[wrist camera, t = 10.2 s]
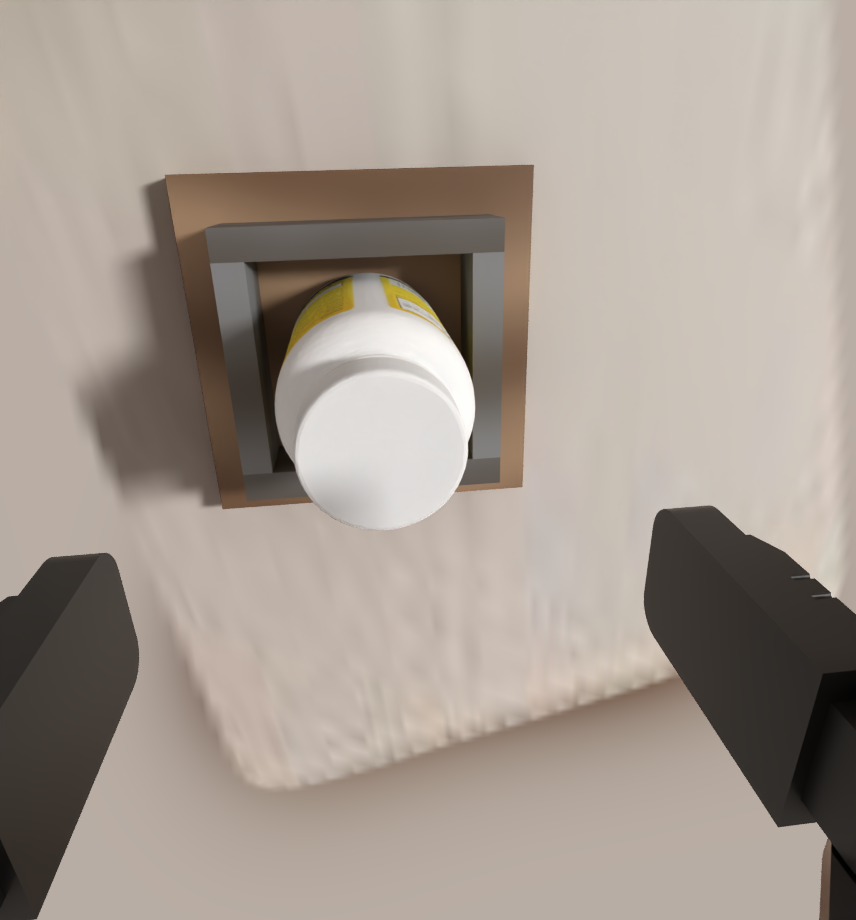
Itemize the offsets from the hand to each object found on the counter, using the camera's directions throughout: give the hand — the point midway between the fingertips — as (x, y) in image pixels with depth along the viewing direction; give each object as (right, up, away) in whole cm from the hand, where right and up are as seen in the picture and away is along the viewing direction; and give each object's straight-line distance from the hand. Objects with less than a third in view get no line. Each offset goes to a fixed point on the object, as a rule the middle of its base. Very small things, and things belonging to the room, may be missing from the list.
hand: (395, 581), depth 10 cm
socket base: (-2, +6, +15) cm, 16 cm away
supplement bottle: (-2, +6, +14) cm, 15 cm away
